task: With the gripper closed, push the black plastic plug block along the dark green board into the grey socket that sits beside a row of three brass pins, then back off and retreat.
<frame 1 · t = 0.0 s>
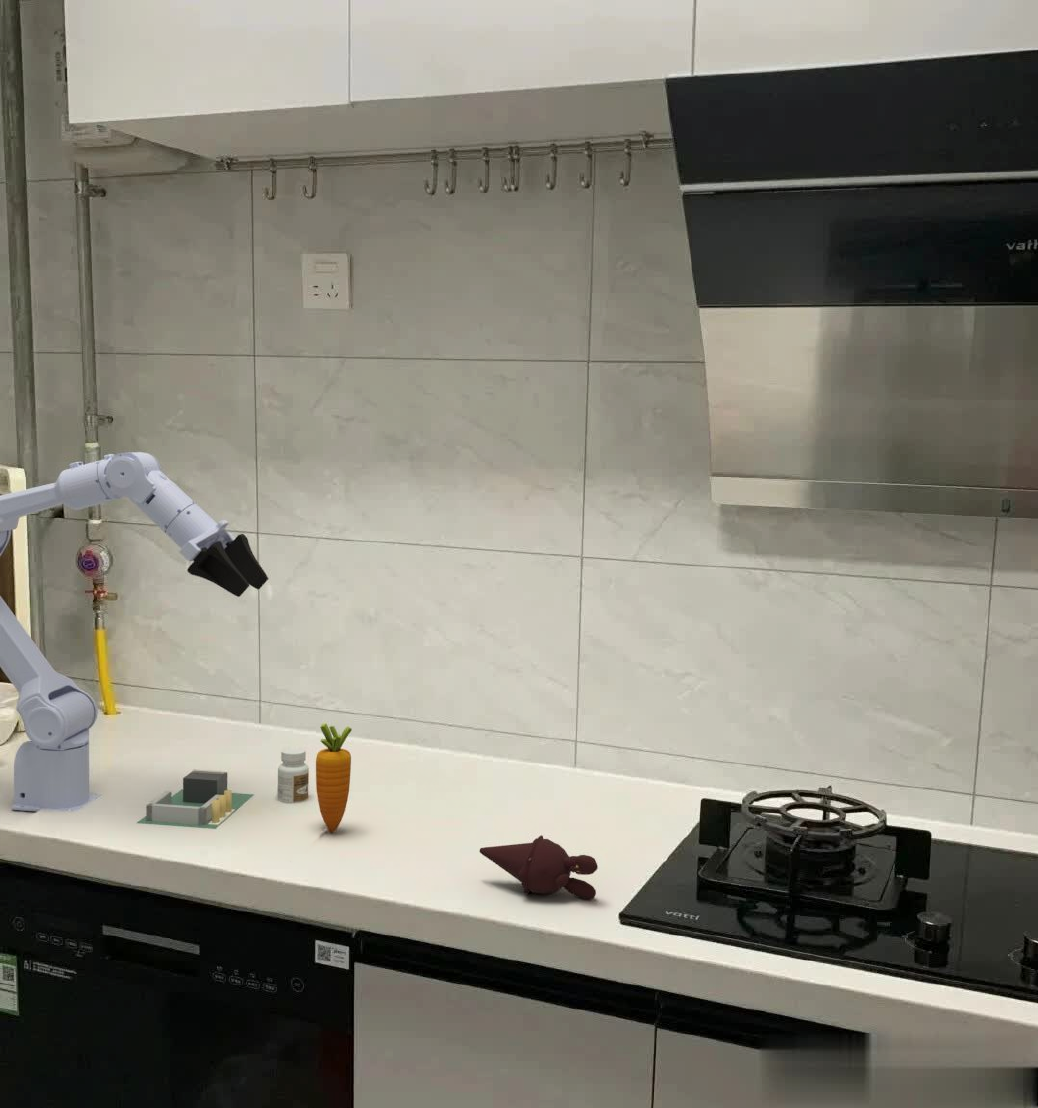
hand: (254, 587, 158), 32 cm above the worktop, tool tilted 50°, fingers open, 7 cm apart
plug block: (205, 798, 167), point 1 cm above the worktop, touching header board
pill bottle: (292, 803, 169), on the worktop
header board: (197, 812, 163), on the worktop
icecream: (536, 893, 139), on the worktop
carrot: (332, 833, 157), on the worktop
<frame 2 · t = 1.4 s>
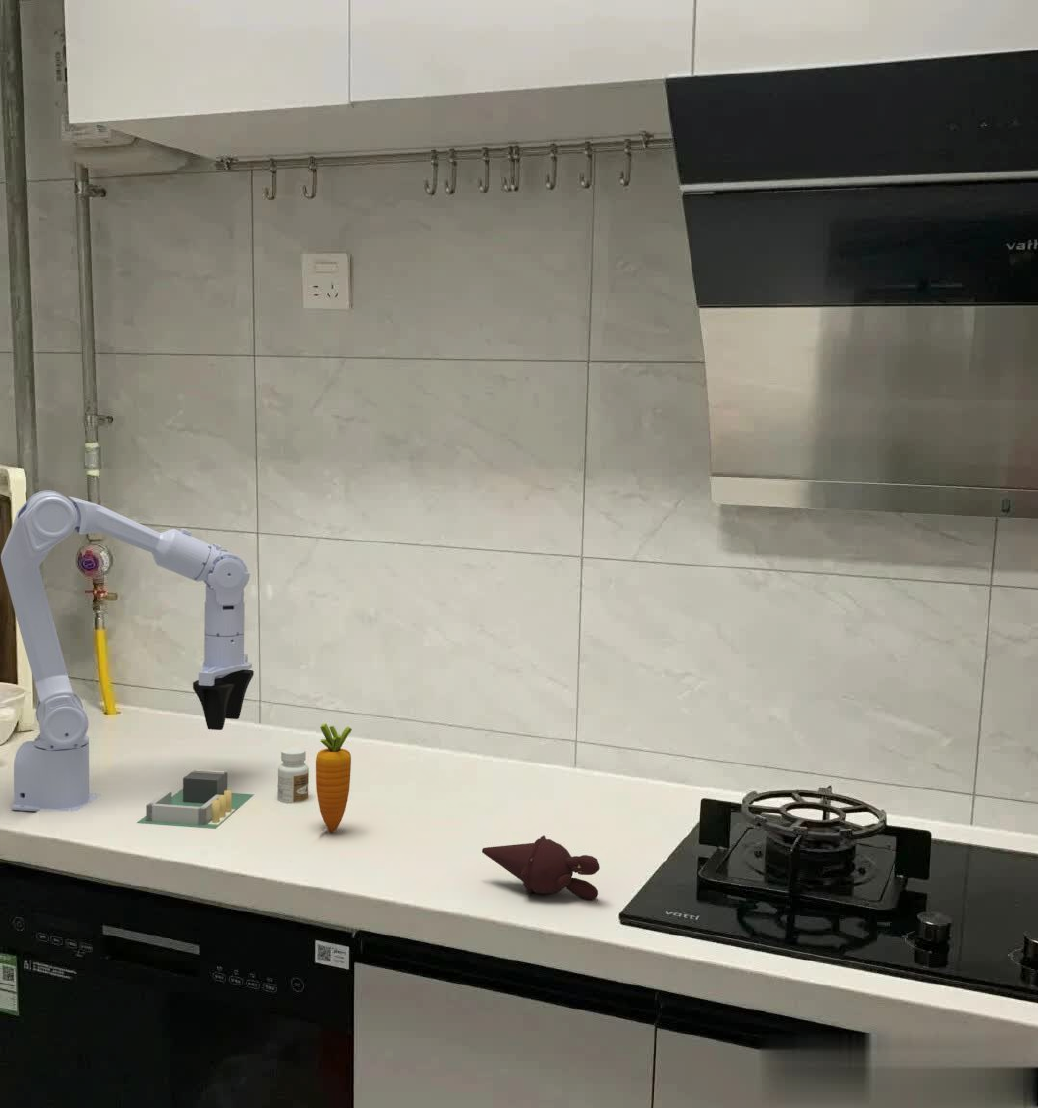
hand: (223, 723, 173), 10 cm above the worktop, tool pointing down, fingers open, 6 cm apart
nothing on the worktop moved.
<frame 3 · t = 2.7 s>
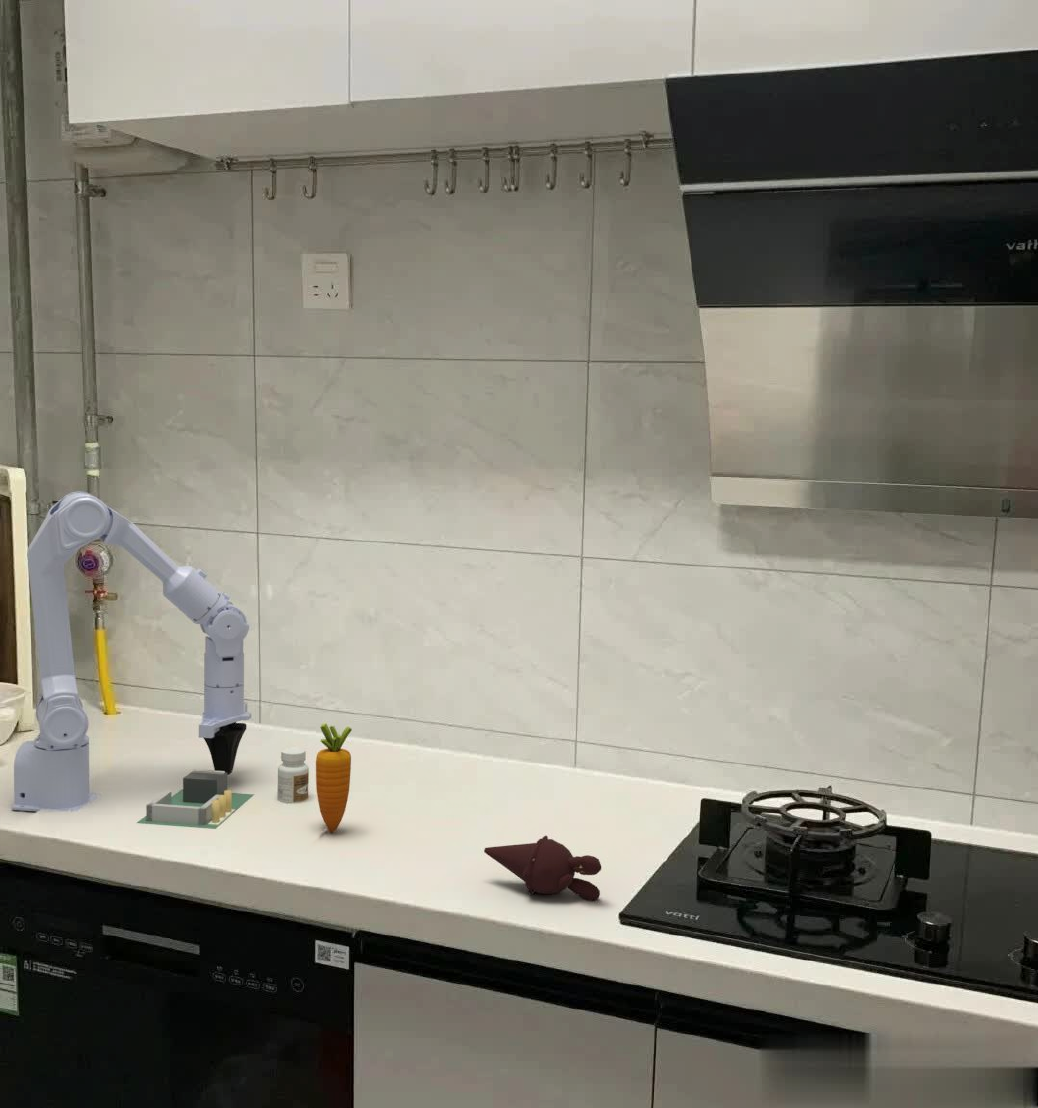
hand: (223, 773, 174), 2 cm above the worktop, tool pointing down, fingers closed
nothing on the worktop moved.
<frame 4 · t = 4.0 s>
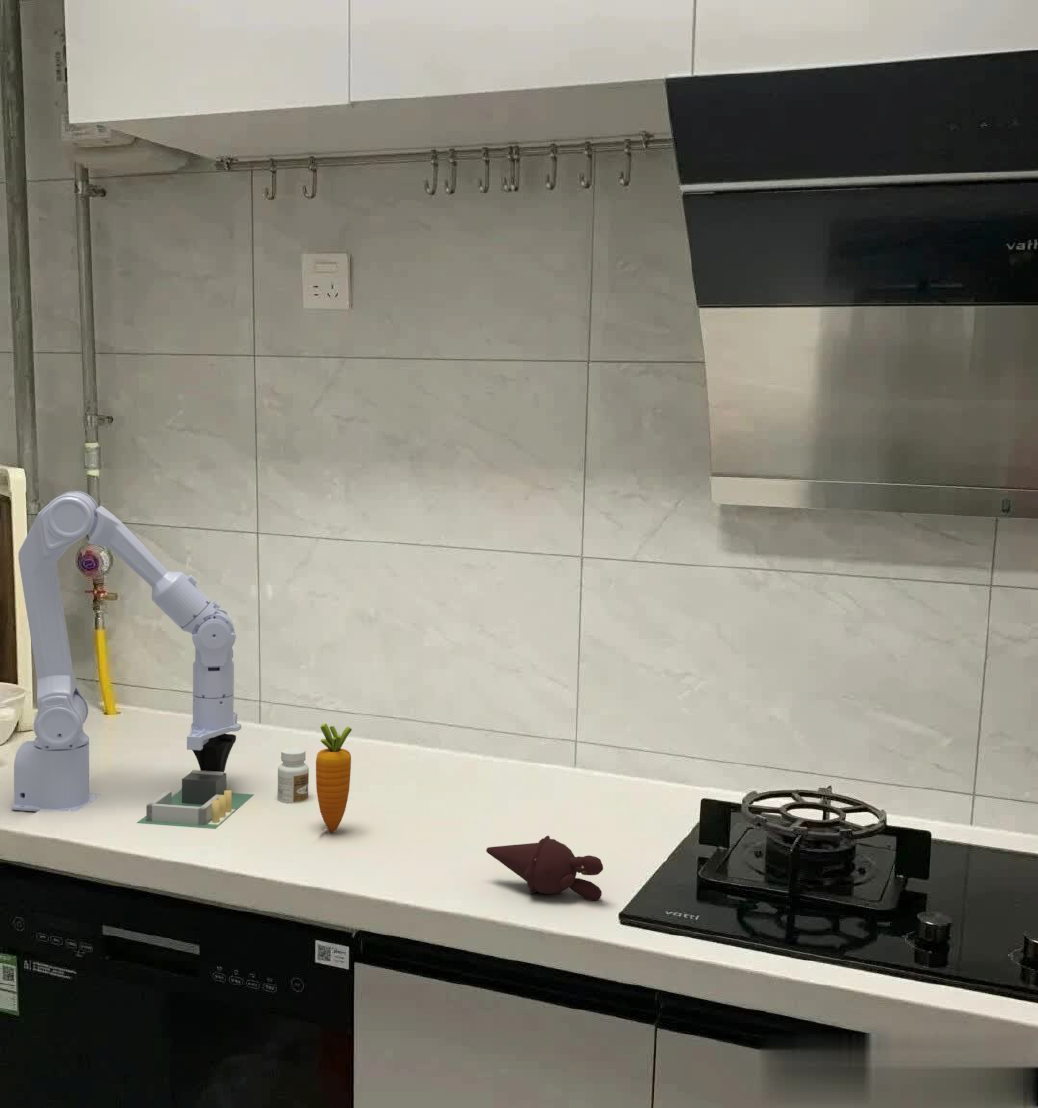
hand: (212, 785, 170), 2 cm above the worktop, tool pointing down, fingers closed
plug block: (204, 799, 167), point 1 cm above the worktop, touching gripper
everything else where it was.
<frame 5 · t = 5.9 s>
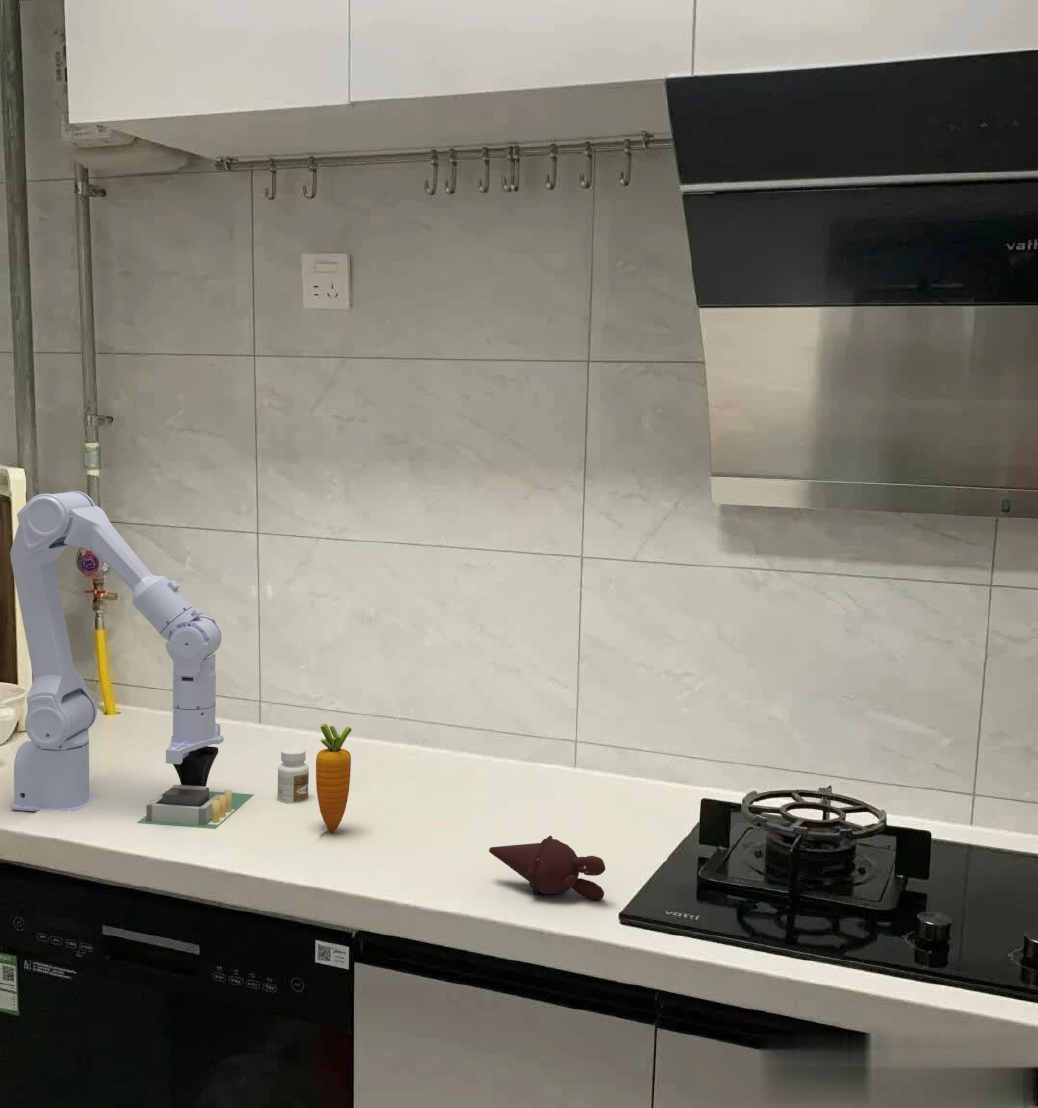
hand: (194, 800, 163), 2 cm above the worktop, tool pointing down, fingers closed
plug block: (185, 815, 160), point 1 cm above the worktop, touching gripper, header board
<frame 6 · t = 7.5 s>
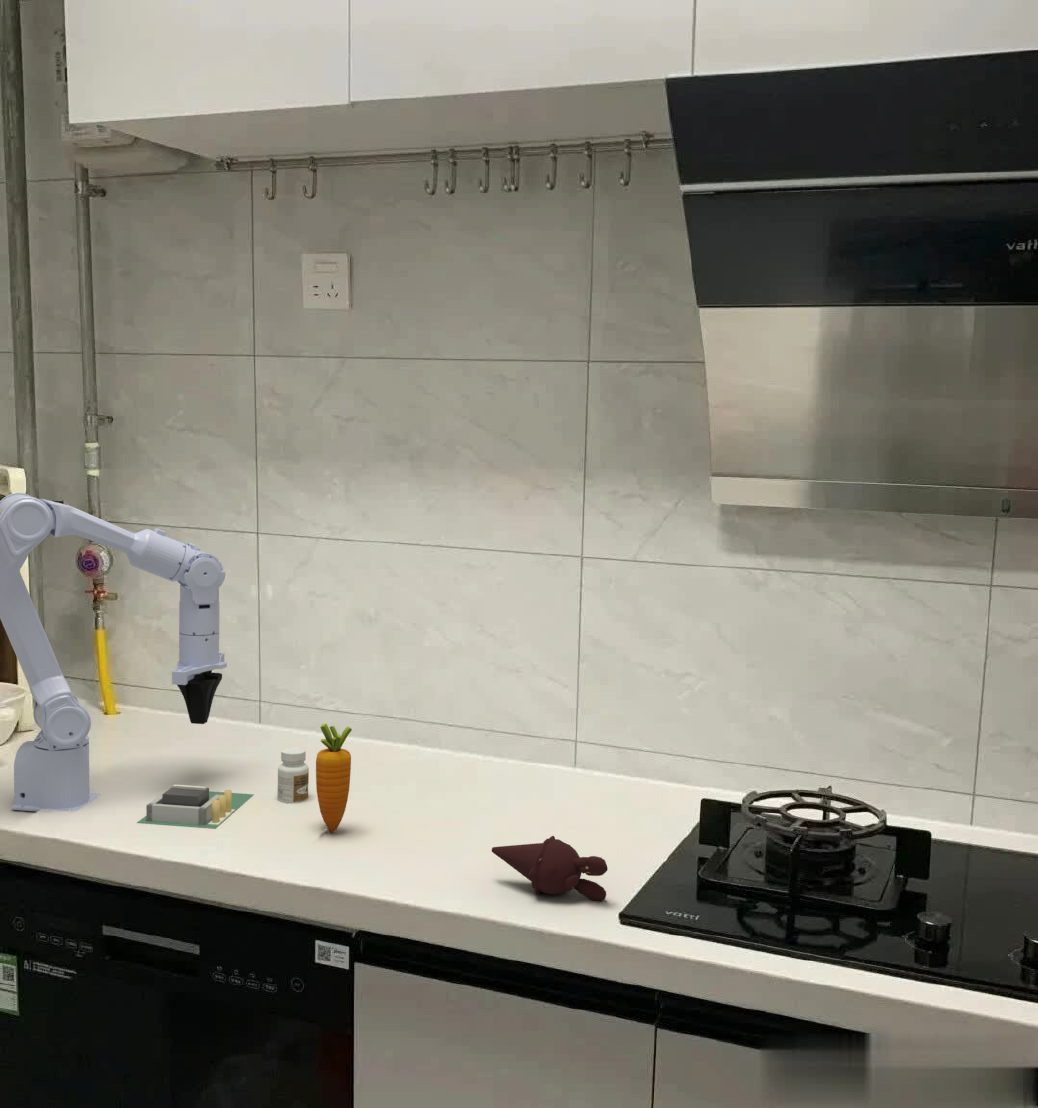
hand: (199, 722, 173), 10 cm above the worktop, tool pointing down, fingers closed
plug block: (185, 815, 160), point 1 cm above the worktop, touching header board
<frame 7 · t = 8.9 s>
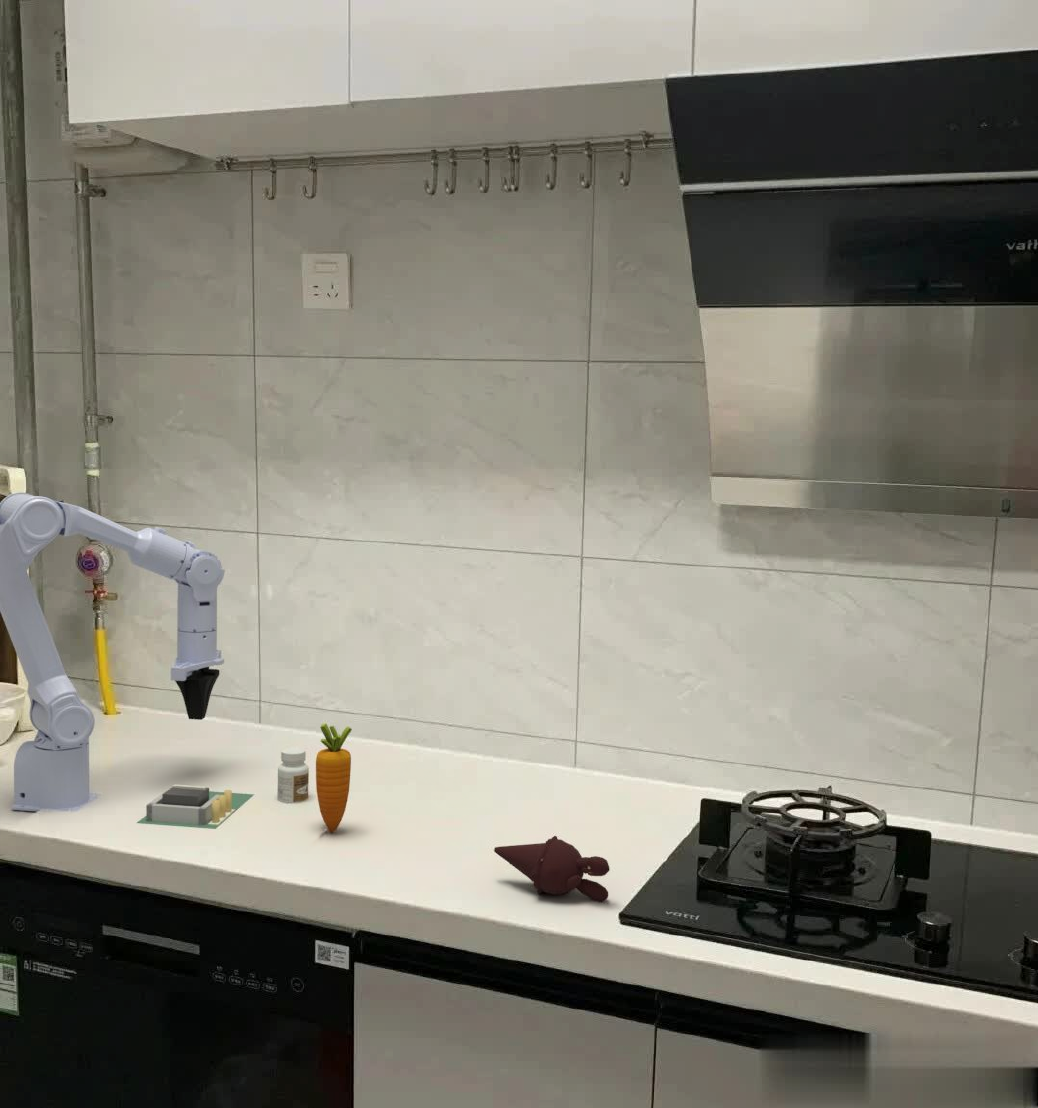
hand: (196, 718, 175), 10 cm above the worktop, tool pointing down, fingers closed
at the end: plug block 0.3 cm from the target spot on the header board, point 0.6 cm above the header board's base; plug block tilted 0°; plug block touching header board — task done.
